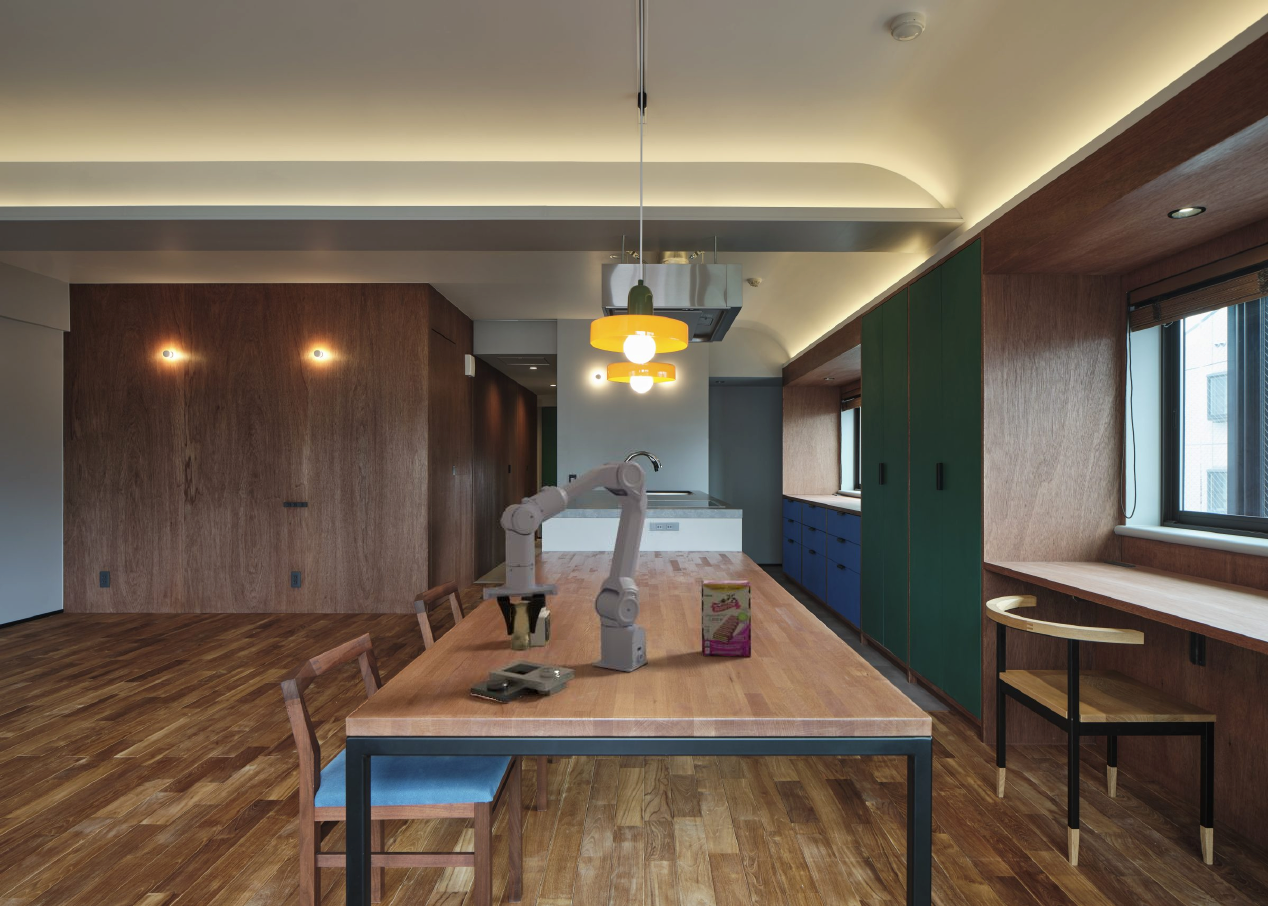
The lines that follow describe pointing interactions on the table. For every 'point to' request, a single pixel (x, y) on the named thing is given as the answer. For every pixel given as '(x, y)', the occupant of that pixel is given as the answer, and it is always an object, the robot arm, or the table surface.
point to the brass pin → (521, 625)
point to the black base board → (501, 689)
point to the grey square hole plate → (534, 676)
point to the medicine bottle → (540, 626)
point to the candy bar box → (726, 618)
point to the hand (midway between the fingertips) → (521, 633)
